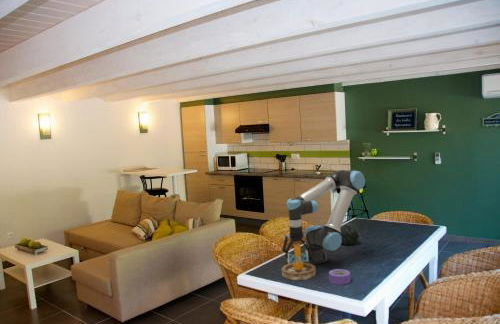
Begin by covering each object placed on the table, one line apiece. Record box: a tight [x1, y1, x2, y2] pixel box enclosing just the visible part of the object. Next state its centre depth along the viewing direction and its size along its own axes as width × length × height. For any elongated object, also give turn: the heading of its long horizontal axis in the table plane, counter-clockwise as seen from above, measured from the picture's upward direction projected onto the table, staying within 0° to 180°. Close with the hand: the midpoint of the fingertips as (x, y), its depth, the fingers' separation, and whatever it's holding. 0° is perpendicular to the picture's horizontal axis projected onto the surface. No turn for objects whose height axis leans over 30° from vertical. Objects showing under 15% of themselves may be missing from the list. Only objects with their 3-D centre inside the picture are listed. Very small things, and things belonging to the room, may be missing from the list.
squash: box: [340, 224, 360, 246], centre depth 307 cm, size 14×15×15 cm
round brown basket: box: [281, 262, 317, 281], centre depth 251 cm, size 20×20×4 cm
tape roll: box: [328, 268, 351, 286], centre depth 236 cm, size 12×12×5 cm
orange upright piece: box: [289, 242, 308, 270], centre depth 251 cm, size 12×10×15 cm
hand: (298, 262), depth 251 cm, fingers closed on orange upright piece, 11 cm apart
